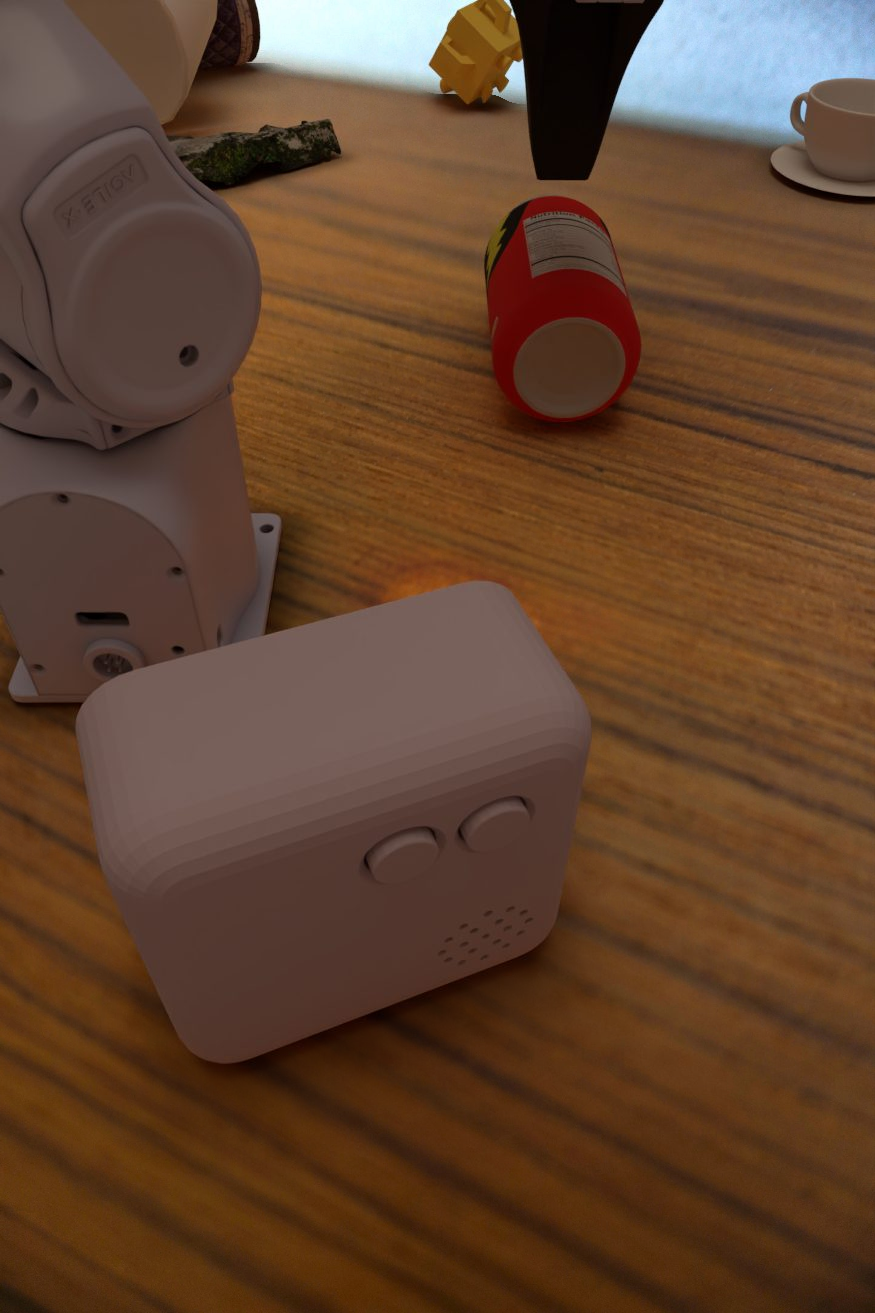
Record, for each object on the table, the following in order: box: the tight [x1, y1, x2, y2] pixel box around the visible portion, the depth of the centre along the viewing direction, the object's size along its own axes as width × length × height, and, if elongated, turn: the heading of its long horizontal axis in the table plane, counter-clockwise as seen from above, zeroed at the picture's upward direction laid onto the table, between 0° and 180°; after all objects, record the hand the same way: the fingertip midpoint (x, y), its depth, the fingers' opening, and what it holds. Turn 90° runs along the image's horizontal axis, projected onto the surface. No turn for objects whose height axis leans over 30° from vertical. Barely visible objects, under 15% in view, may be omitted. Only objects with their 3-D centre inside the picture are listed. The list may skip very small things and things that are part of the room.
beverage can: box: [483, 193, 642, 423], centre depth 44 cm, size 6×6×12 cm
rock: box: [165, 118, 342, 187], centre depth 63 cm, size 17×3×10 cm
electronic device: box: [74, 580, 593, 1065], centre depth 22 cm, size 10×5×10 cm, turn 112°
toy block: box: [428, 0, 523, 105], centre depth 72 cm, size 8×8×6 cm
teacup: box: [770, 77, 875, 197], centre depth 62 cm, size 10×10×5 cm
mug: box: [196, 0, 261, 73], centre depth 77 cm, size 10×7×12 cm
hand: (561, 174), depth 38 cm, fingers closed
